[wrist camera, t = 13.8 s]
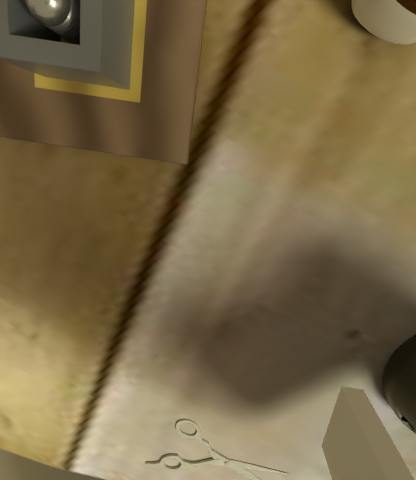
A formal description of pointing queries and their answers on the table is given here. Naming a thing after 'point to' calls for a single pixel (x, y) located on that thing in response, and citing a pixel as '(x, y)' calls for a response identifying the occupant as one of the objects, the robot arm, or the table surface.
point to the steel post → (58, 17)
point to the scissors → (215, 460)
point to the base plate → (118, 92)
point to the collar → (71, 55)
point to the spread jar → (388, 19)
